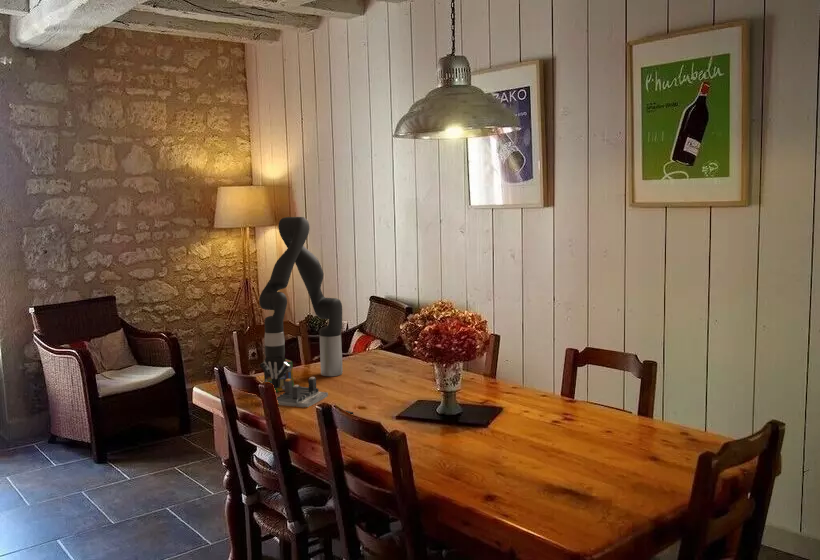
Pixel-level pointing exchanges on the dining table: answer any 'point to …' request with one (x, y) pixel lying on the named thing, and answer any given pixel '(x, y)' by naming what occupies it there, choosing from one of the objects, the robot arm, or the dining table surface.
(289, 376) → the chalk box
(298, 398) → the grey pegged base plate
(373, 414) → the dining table surface
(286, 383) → the breaker
